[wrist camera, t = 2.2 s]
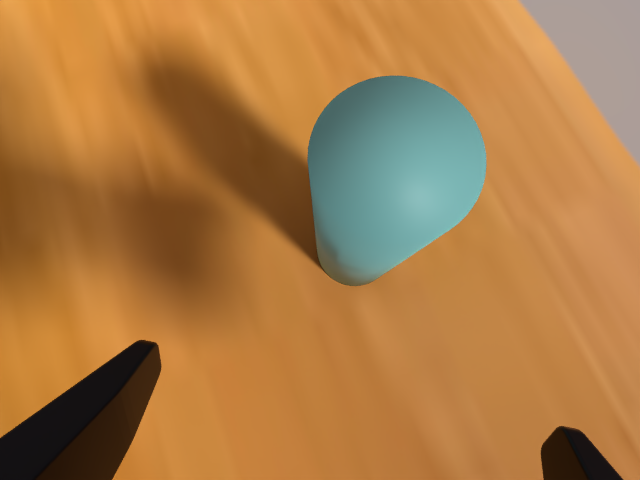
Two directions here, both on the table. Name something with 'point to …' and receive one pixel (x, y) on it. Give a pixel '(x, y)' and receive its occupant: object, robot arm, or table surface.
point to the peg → (390, 174)
